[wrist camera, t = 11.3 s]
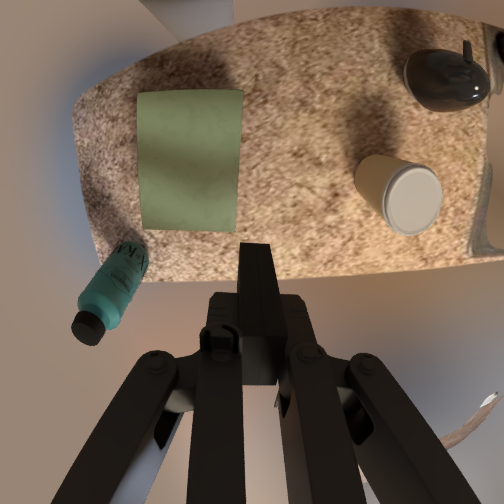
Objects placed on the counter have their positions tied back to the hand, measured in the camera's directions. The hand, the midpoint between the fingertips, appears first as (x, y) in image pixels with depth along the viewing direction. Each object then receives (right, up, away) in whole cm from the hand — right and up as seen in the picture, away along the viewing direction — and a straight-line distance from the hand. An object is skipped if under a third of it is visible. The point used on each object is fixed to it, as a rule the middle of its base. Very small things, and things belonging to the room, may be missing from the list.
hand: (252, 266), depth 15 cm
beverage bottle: (-20, +1, +29) cm, 35 cm away
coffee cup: (+19, +12, +25) cm, 34 cm away
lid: (-7, +11, +15) cm, 20 cm away
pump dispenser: (+26, +28, +17) cm, 42 cm away
